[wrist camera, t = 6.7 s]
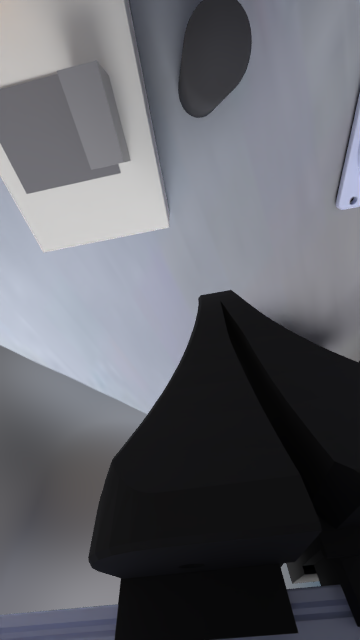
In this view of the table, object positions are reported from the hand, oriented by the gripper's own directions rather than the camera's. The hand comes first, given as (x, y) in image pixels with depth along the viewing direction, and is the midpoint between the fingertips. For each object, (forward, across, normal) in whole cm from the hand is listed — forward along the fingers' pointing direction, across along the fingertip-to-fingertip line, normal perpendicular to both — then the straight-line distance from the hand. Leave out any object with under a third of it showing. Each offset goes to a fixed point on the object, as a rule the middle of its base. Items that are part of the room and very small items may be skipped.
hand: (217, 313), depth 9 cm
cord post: (+10, -2, -8) cm, 13 cm away
